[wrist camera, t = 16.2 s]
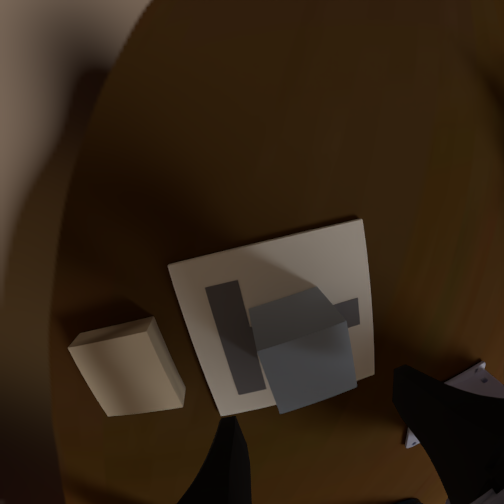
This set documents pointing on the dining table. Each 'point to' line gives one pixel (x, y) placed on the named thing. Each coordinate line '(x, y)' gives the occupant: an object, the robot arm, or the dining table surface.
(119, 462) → the dining table surface
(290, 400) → the slate cube
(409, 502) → the canister
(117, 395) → the birch block
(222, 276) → the letter card
